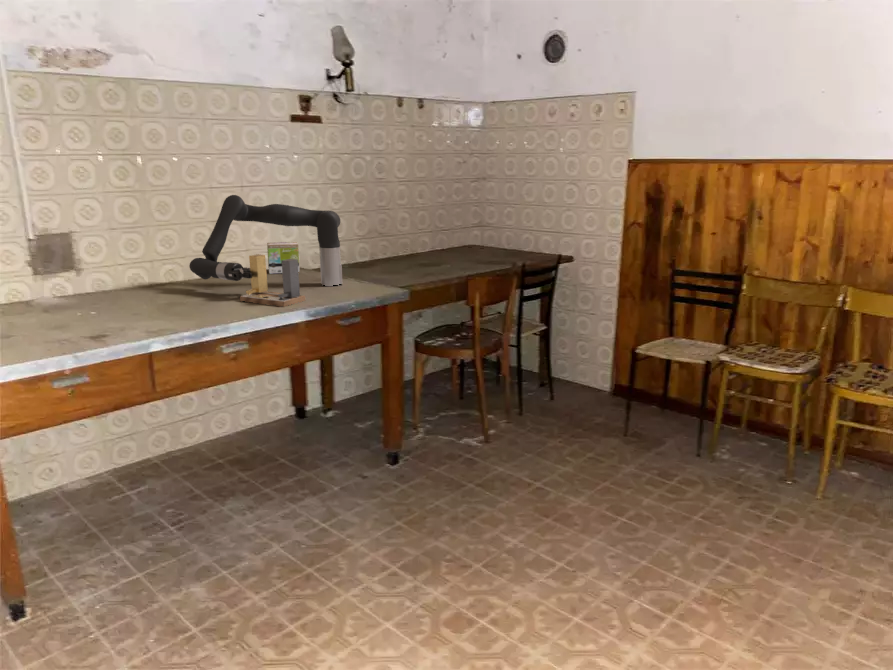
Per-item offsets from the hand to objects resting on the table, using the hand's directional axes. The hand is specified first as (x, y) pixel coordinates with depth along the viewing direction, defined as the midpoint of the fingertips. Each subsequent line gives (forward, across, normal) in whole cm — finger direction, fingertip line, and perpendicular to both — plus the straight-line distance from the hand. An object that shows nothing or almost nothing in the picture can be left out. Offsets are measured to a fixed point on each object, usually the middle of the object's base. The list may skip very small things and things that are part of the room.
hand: (258, 274), depth 279 cm
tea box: (-34, +54, +10) cm, 64 cm away
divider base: (+9, -3, +10) cm, 14 cm away
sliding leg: (0, -2, +7) cm, 8 cm away
